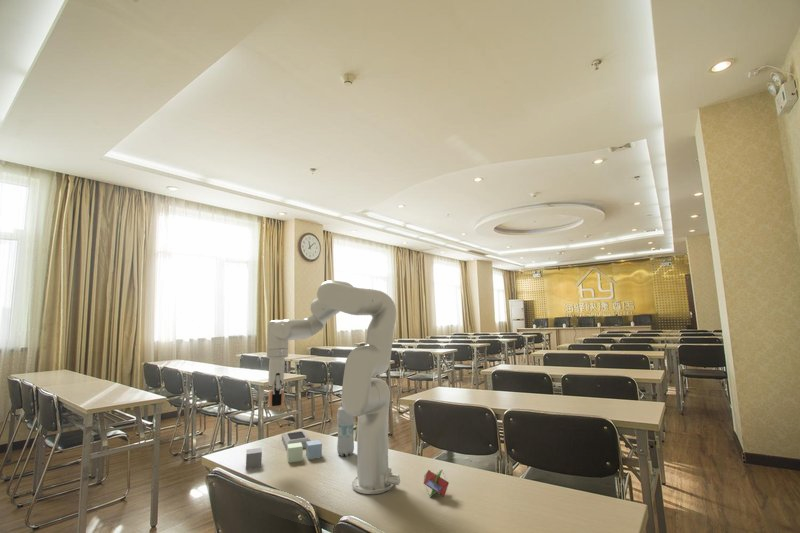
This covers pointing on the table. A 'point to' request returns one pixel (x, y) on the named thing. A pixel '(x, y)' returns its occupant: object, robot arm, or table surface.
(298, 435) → the gray dark-screened device
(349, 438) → the bottle
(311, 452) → the slate-blue block
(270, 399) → the terracotta block
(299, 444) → the sage-green block
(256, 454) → the gray block
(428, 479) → the geometric puzzle
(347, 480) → the table surface
